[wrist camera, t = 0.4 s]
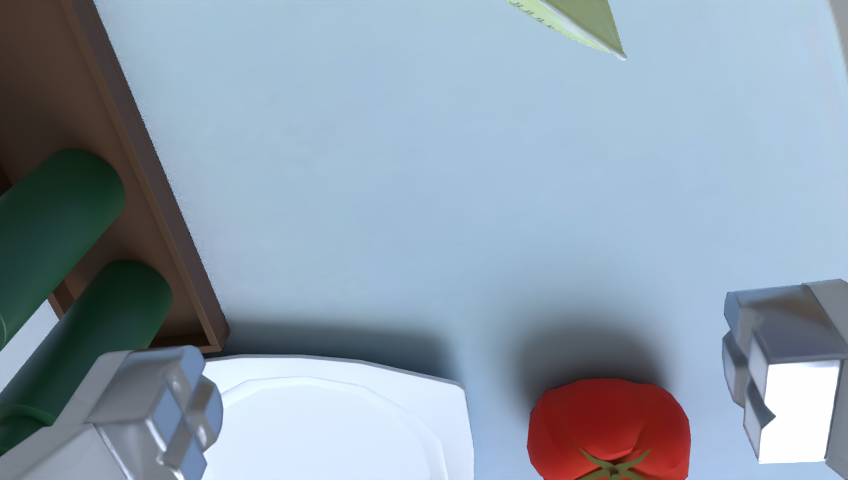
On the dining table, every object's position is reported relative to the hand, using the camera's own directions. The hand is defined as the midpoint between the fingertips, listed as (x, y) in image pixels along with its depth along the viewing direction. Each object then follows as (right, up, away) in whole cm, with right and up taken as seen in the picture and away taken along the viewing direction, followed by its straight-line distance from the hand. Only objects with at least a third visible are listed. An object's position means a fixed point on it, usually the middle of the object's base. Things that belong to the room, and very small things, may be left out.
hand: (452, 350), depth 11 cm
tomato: (+12, -10, +40) cm, 43 cm away
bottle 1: (-21, +5, +32) cm, 39 cm away
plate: (-9, -15, +45) cm, 48 cm away
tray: (-21, +5, +33) cm, 39 cm away
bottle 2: (-20, -2, +36) cm, 41 cm away
